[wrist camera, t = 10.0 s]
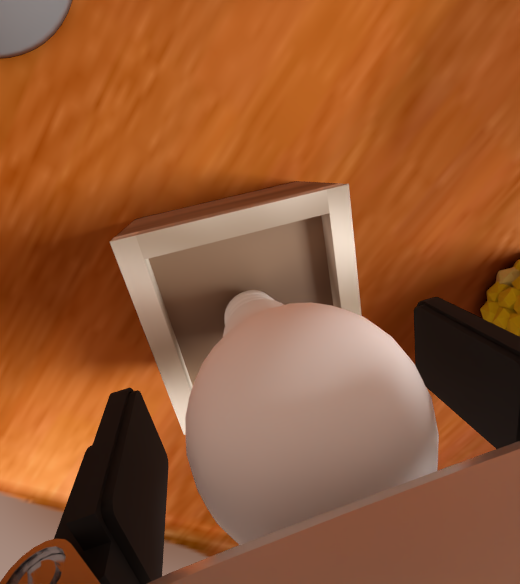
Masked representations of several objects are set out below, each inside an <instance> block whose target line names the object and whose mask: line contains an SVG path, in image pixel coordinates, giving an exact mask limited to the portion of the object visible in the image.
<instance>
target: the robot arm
mask: <svg viewBox="0 0 520 584" xmlns="http://www.w3.org/2000/svg"><path fill="white" fill-rule="evenodd" d="M414 330H415V363H416V368H417V370H418V372H419V374H420V376H421V378H422V380H423V382H424V384H425V386H426V387H427V388H428V389H429V390H430V391H431V392H433V393H434V394H435V395H436V396H437V397H438V398H439V399H441V400H442V401H443V402H444V403H445V404H446V405H447V406H449V407H450V408H451V409H452V410H453V411H454V412H455V413H456V414H458V415H459V416H460V417H461V418H462V419H463V420H464V421H466V422H467V423H468V424H469V425H470V426H471V427H472V428H474V429H475V430H476V431H477V432H478V433H479V434H480V435H481V436H483V437H484V438H485V439H486V440H487V441H488V442H489V443H491V444H492V445H493V446H494V447H495V448H496V450H493V451H491V452H488V453H485V454H482V455H480V456H477V457H474V458H471V459H469V460H466V461H463V462H460V463H458V464H455V465H452V466H449V467H447V468H444V469H441V470H439V471H436V472H433V473H431V474H428V475H425V476H422V477H420V478H417V479H414V480H412V481H409V482H406V483H404V484H401V485H398V486H395V487H393V488H390V489H387V490H385V491H382V492H379V493H377V494H374V495H371V496H369V497H366V498H363V499H361V500H358V501H355V502H353V503H350V504H347V505H345V506H342V507H339V508H337V509H334V510H331V511H329V512H326V513H323V514H321V515H318V516H315V517H313V518H310V519H307V520H305V521H302V522H300V523H297V524H294V525H292V526H289V527H286V528H284V529H281V530H278V531H276V532H273V533H271V534H268V535H265V536H263V537H260V538H257V539H255V540H252V541H249V542H247V543H244V544H242V545H239V546H236V547H234V548H231V549H229V550H226V551H224V552H221V553H219V554H216V555H214V556H211V557H209V558H206V559H204V560H201V561H199V562H196V563H194V564H191V565H189V566H186V567H184V568H181V569H179V570H176V571H174V572H171V573H169V574H167V575H165V576H162V565H163V548H164V547H163V546H164V531H165V514H166V498H167V481H168V458H167V454H166V452H165V449H164V447H163V444H162V442H161V440H160V437H159V435H158V433H157V430H156V428H155V426H154V423H153V421H152V419H151V416H150V414H149V412H148V409H147V407H146V405H145V402H144V400H143V397H142V395H141V393H140V392H139V391H138V390H137V391H133V390H132V388H127V389H124V390H121V391H117V392H114V393H111V394H110V396H109V399H108V402H107V405H106V408H105V411H104V414H103V416H102V419H101V422H100V425H99V428H98V431H97V434H96V437H95V440H94V442H93V445H92V446H90V447H89V448H88V449H87V450H86V452H85V455H84V458H83V460H82V463H81V466H80V469H79V471H78V474H77V477H76V480H75V482H74V485H73V488H72V491H71V493H70V496H69V499H68V502H67V504H66V507H65V510H64V513H63V516H62V518H61V521H60V524H59V527H58V529H57V532H56V535H55V538H54V539H53V540H49V541H46V542H44V543H42V544H40V545H38V546H36V547H34V548H33V549H31V550H30V551H29V552H28V553H26V554H25V555H24V556H22V557H21V558H20V559H19V560H18V561H17V562H16V563H15V564H14V565H13V566H12V567H11V568H10V570H9V571H8V572H7V574H6V575H5V576H4V578H3V579H2V580H1V582H0V584H520V337H519V336H517V335H515V334H513V333H511V332H509V331H507V330H505V329H503V328H501V327H499V326H497V325H495V324H493V323H490V322H488V321H486V320H484V319H482V318H480V317H478V316H476V315H474V314H472V313H470V312H468V311H466V310H464V309H461V308H459V307H457V306H455V305H453V304H451V303H449V302H447V301H445V300H443V299H441V298H438V297H433V298H430V299H426V300H423V301H420V302H419V303H418V305H417V307H416V308H415V309H414Z"/></svg>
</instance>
